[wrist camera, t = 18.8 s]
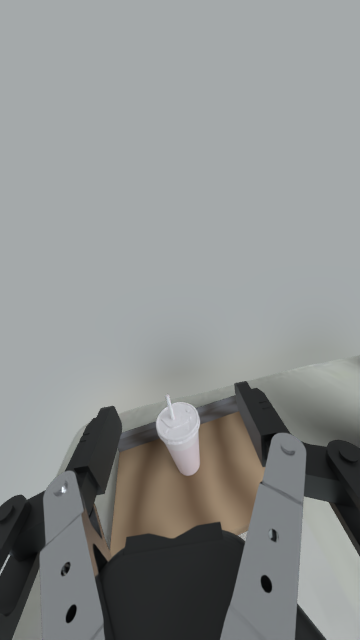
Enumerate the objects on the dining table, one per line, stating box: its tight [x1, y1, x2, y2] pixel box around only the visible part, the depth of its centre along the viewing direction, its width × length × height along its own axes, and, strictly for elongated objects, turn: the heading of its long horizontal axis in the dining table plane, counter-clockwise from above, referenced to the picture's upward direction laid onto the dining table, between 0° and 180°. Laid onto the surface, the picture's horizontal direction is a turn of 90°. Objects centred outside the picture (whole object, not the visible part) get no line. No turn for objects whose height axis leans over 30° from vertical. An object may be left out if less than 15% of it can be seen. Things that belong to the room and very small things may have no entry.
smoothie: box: [156, 394, 200, 476], centre depth 27 cm, size 6×6×14 cm
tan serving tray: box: [110, 396, 265, 557], centre depth 29 cm, size 24×16×4 cm
